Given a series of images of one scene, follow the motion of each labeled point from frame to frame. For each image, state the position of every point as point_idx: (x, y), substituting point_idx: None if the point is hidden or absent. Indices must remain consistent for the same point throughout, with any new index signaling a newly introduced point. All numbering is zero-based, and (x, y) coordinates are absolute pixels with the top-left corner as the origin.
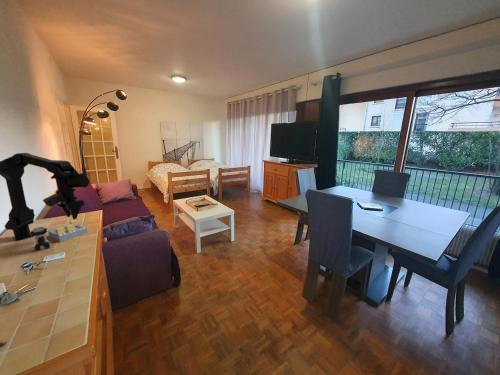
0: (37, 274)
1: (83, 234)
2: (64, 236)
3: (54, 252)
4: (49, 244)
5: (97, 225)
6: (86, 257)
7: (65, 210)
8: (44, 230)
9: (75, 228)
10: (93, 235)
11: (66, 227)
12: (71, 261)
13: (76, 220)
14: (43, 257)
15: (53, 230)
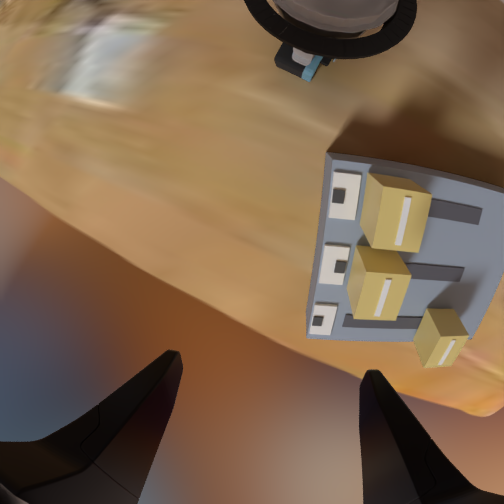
0: (30, 12)
1: (309, 290)
2: (327, 193)
3: (165, 65)
4: (294, 72)
5: None
6: (11, 161)
7: (394, 459)
8: (256, 11)
9: None
10: (228, 304)
11: (387, 267)
12: (18, 111)
13: (430, 363)
14: (152, 15)
15: (500, 218)
